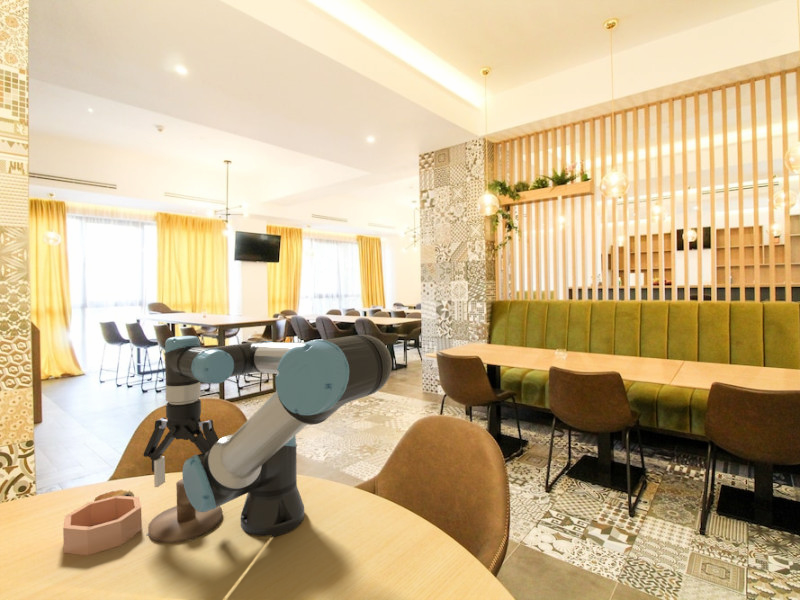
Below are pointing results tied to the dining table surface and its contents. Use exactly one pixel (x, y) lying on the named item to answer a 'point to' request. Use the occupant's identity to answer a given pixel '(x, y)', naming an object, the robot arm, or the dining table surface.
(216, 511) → the lid
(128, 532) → the bowl
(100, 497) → the pastry
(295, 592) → the dining table surface
